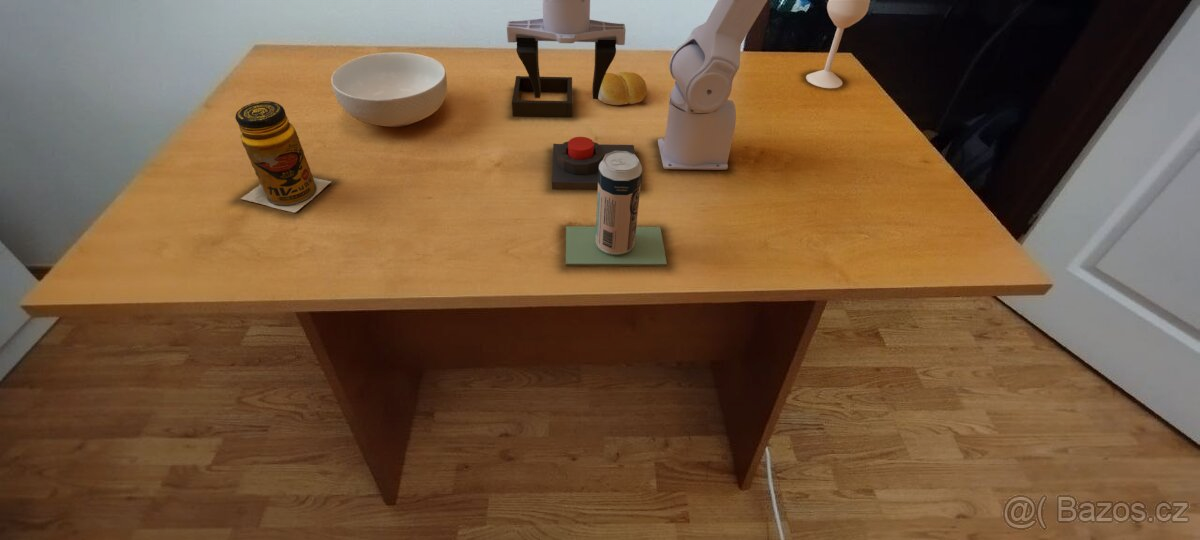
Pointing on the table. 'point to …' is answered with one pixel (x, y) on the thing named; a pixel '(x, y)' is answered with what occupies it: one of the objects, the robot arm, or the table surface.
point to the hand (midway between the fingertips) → (566, 95)
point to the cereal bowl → (390, 88)
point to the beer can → (617, 202)
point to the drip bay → (542, 107)
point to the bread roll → (622, 88)
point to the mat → (588, 254)
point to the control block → (580, 166)
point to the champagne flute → (838, 37)
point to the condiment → (276, 158)
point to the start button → (580, 148)
